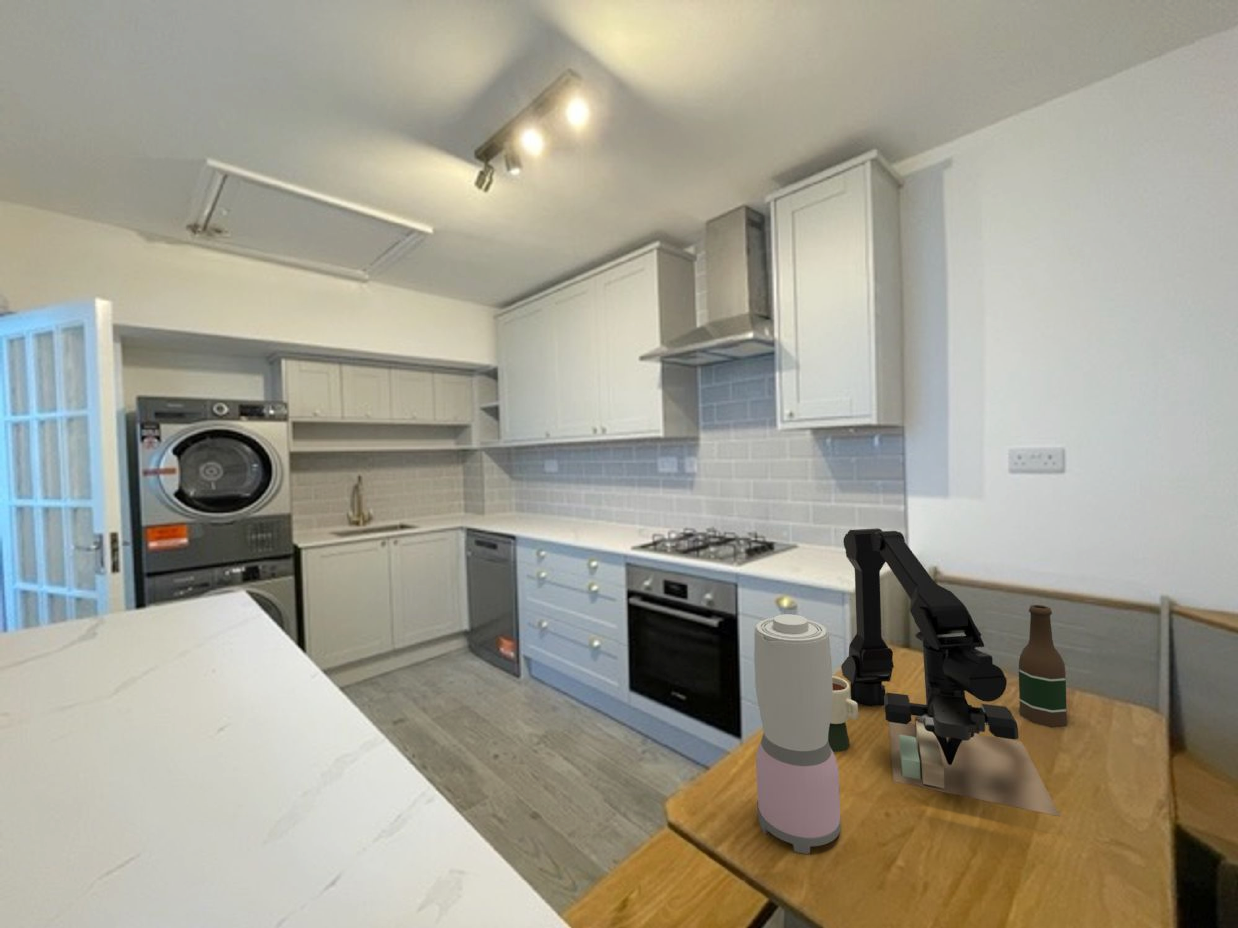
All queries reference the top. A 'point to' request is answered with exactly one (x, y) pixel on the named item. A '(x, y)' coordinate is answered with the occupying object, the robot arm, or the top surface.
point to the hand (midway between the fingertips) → (949, 763)
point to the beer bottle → (1042, 674)
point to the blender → (796, 733)
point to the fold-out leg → (929, 755)
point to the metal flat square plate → (983, 771)
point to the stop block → (909, 757)
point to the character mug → (841, 715)
